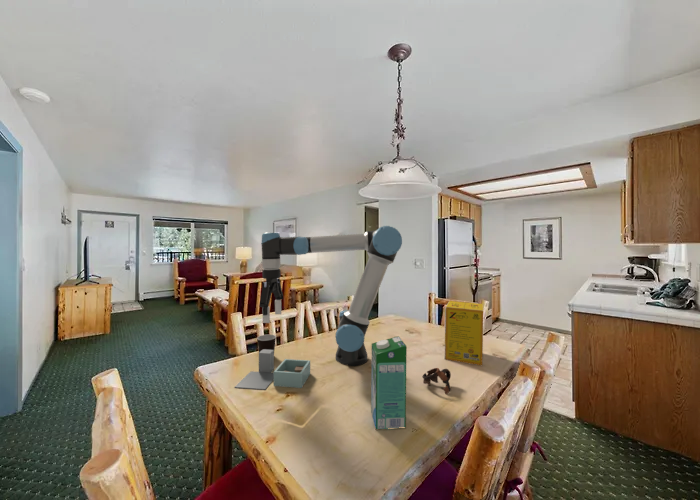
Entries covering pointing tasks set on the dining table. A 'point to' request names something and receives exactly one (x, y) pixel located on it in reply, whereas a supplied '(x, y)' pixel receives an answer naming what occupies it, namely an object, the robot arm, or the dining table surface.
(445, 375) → the brown curved piece
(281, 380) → the tub
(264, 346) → the coffee mug
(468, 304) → the packaging box
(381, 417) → the milk carton
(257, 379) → the bookend
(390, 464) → the dining table surface
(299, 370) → the walnut block
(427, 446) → the dining table surface
